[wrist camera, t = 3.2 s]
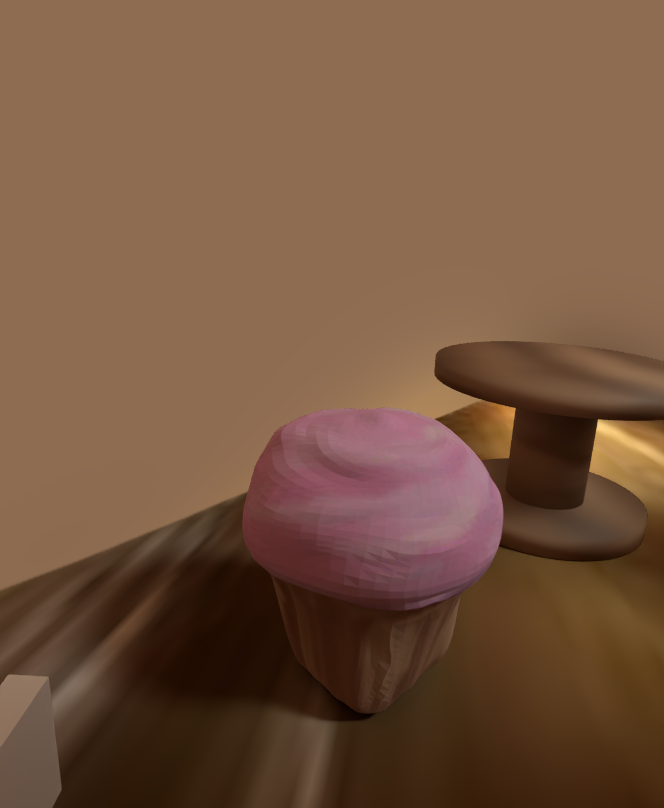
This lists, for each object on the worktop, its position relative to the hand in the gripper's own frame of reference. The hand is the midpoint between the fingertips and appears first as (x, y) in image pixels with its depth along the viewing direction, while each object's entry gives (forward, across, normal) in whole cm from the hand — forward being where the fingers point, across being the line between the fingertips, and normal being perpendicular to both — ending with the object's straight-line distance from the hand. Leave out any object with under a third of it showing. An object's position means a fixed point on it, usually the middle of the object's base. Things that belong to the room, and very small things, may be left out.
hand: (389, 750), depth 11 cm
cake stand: (+23, +11, -6) cm, 26 cm away
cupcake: (+10, 0, -6) cm, 12 cm away
